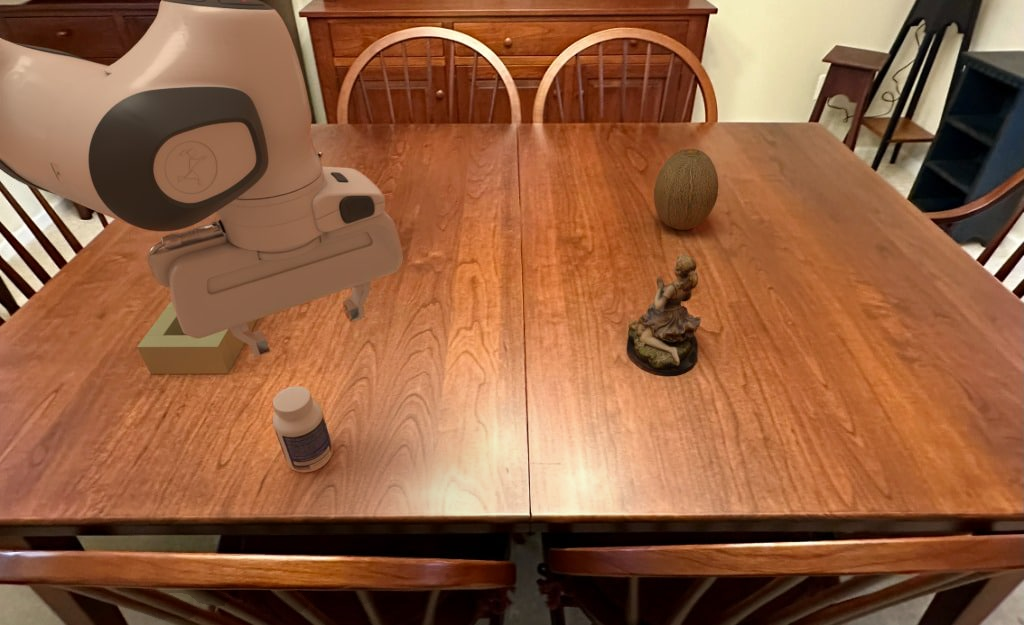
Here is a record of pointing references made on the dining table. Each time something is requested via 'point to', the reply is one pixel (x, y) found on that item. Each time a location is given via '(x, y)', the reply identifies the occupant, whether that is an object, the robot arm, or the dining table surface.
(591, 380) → the dining table surface
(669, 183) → the fruit
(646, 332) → the figurine
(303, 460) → the pill bottle
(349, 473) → the dining table surface
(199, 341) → the compartment tray
